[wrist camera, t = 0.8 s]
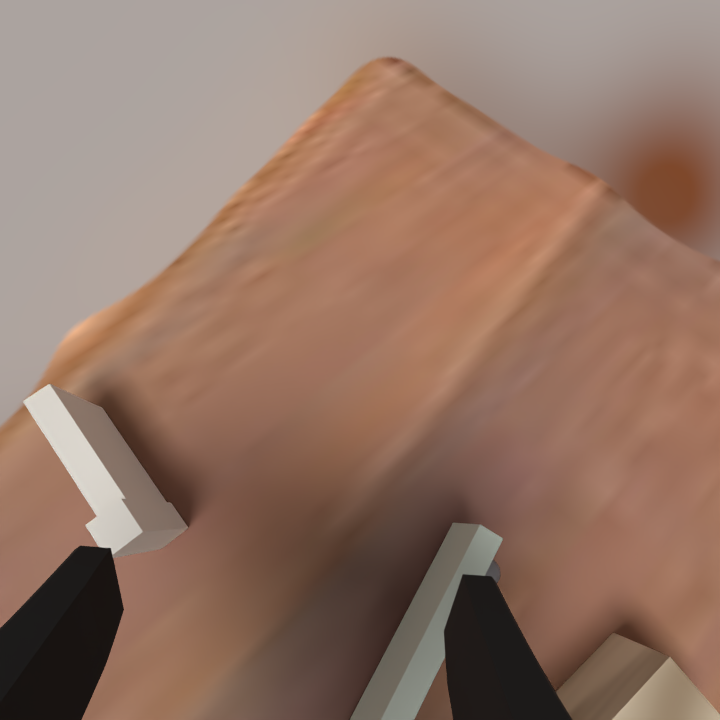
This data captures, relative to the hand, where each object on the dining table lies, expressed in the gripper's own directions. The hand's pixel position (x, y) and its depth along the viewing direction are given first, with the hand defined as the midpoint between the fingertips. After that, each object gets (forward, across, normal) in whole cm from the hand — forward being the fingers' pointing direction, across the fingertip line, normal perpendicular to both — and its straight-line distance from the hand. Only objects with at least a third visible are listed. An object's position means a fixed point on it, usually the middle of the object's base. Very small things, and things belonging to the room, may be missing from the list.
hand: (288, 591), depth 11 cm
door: (+6, -5, +13) cm, 15 cm away
